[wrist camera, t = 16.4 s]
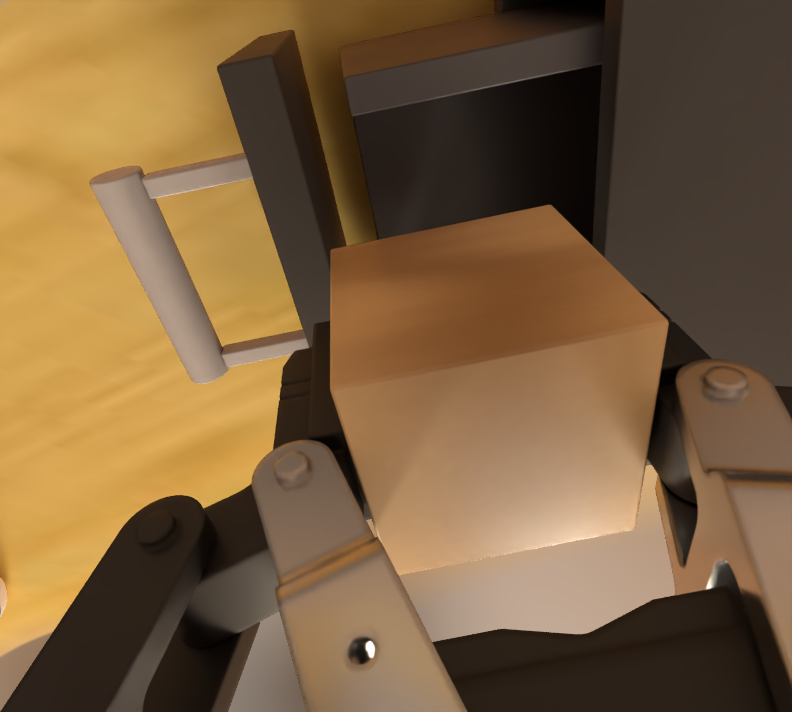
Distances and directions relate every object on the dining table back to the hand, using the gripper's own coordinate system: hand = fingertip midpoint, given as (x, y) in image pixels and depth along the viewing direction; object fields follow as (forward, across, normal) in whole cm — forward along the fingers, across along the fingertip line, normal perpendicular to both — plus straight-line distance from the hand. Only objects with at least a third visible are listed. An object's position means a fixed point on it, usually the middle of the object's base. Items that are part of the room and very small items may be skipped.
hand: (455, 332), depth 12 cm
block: (+1, 0, 0) cm, 1 cm away
